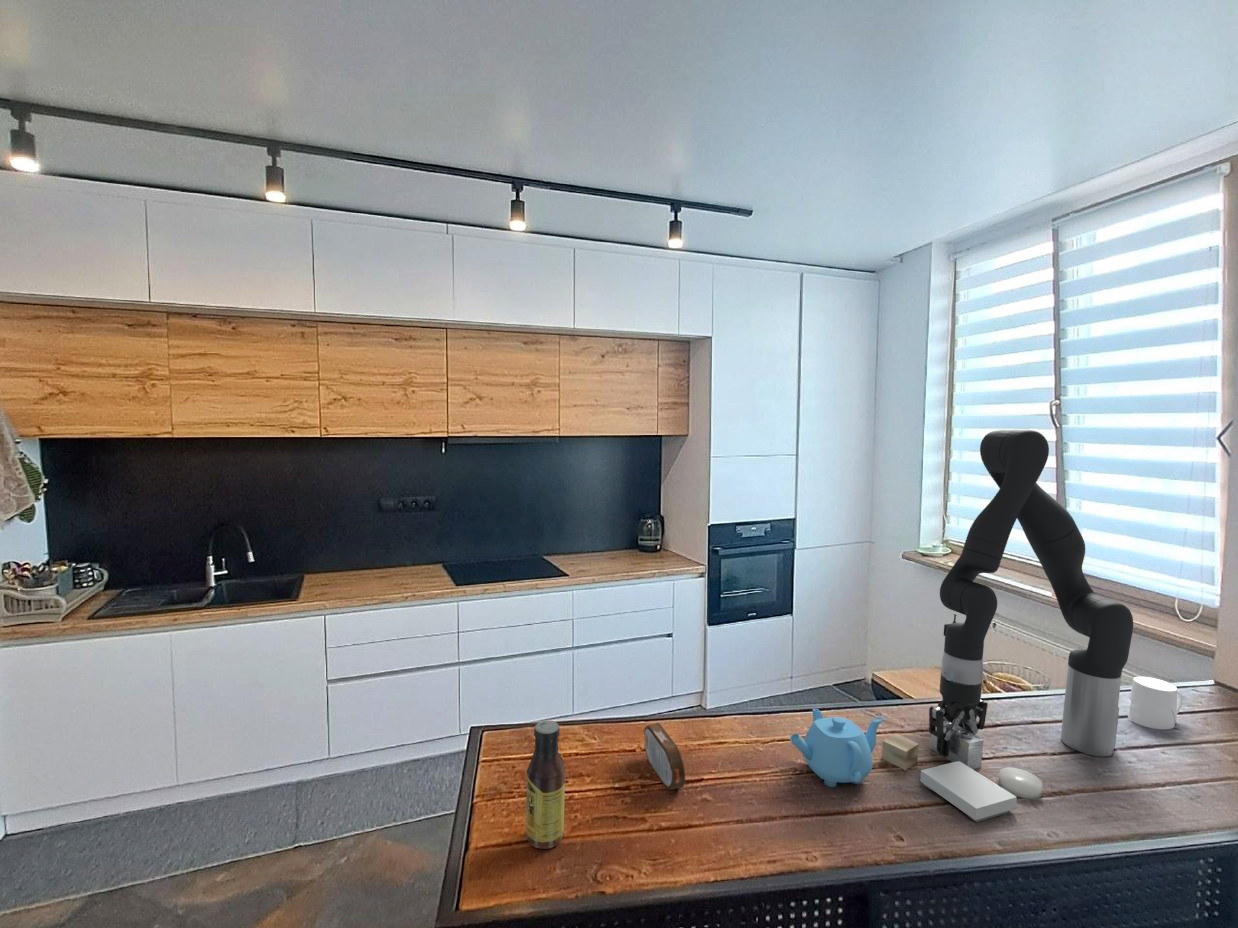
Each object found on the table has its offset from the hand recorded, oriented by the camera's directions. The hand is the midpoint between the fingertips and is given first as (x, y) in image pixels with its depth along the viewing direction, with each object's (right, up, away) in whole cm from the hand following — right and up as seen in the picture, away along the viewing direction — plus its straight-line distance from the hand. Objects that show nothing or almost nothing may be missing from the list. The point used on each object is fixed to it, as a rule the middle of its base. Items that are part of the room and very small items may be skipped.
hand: (955, 751), depth 130 cm
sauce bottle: (-83, -2, -27) cm, 87 cm away
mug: (+57, -1, +18) cm, 60 cm away
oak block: (-12, -1, -1) cm, 12 cm away
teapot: (-28, -1, -6) cm, 28 cm away
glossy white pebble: (+7, -2, -10) cm, 12 cm away
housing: (0, -1, 0) cm, 1 cm away
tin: (-62, -1, -9) cm, 63 cm away
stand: (-5, -2, -14) cm, 15 cm away
